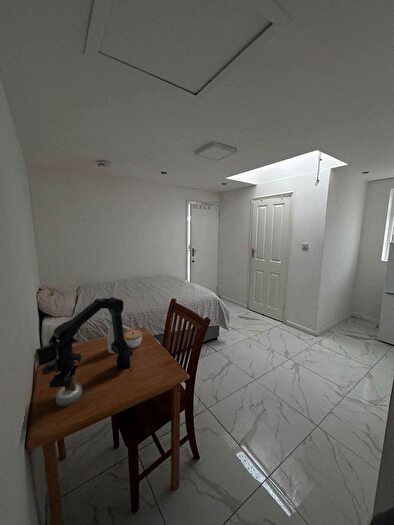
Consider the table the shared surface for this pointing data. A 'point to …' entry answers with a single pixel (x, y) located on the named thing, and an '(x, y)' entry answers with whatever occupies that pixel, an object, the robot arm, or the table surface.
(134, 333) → the lidded jar
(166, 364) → the table surface
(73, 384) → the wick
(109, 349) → the milk bottle
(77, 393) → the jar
